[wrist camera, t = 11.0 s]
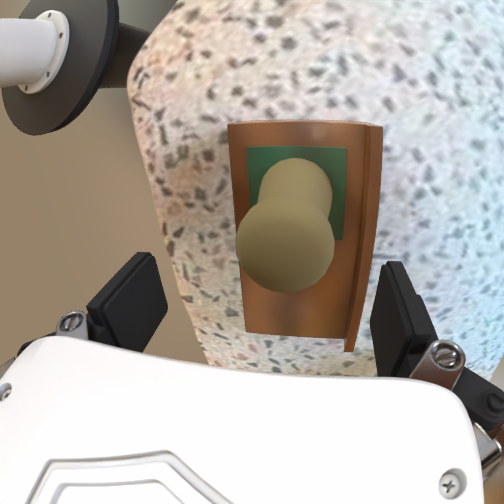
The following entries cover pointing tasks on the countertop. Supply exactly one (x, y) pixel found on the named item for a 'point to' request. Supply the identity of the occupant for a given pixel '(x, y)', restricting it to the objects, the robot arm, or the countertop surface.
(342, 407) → the robot arm
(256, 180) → the wooden shelf
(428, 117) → the countertop surface
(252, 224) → the cork
